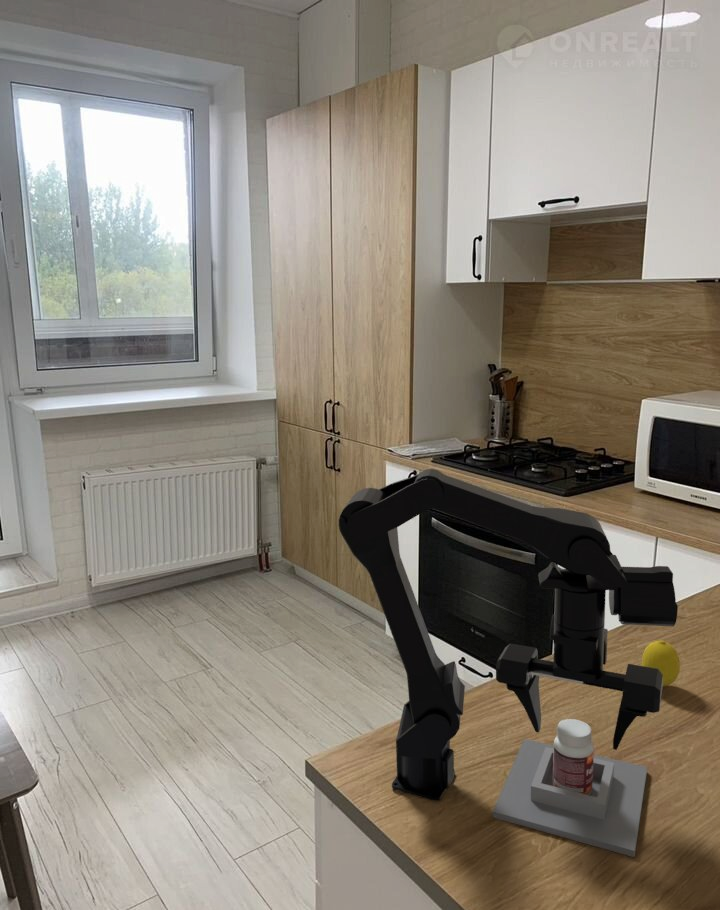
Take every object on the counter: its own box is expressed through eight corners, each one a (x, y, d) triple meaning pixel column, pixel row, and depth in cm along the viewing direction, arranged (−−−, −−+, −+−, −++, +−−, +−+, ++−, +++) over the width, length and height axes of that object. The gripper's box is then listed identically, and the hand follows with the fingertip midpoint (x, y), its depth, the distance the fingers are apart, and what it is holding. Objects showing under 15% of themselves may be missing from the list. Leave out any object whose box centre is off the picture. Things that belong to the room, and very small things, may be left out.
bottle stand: (492, 817, 86) (492, 796, 86) (524, 743, 101) (524, 725, 100) (634, 857, 80) (635, 835, 79) (646, 772, 94) (647, 753, 93)
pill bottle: (594, 803, 87) (597, 740, 85) (553, 798, 88) (555, 737, 86) (590, 778, 92) (592, 718, 90) (551, 774, 93) (553, 715, 91)
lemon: (681, 683, 115) (684, 637, 113) (674, 700, 110) (678, 651, 108) (644, 675, 118) (646, 629, 116) (637, 690, 113) (639, 643, 111)
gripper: (668, 606, 88) (662, 721, 91) (517, 585, 96) (516, 691, 100) (662, 645, 79) (655, 772, 82) (494, 618, 87) (494, 735, 90)
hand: (575, 739), depth 88 cm, fingers open, 9 cm apart
